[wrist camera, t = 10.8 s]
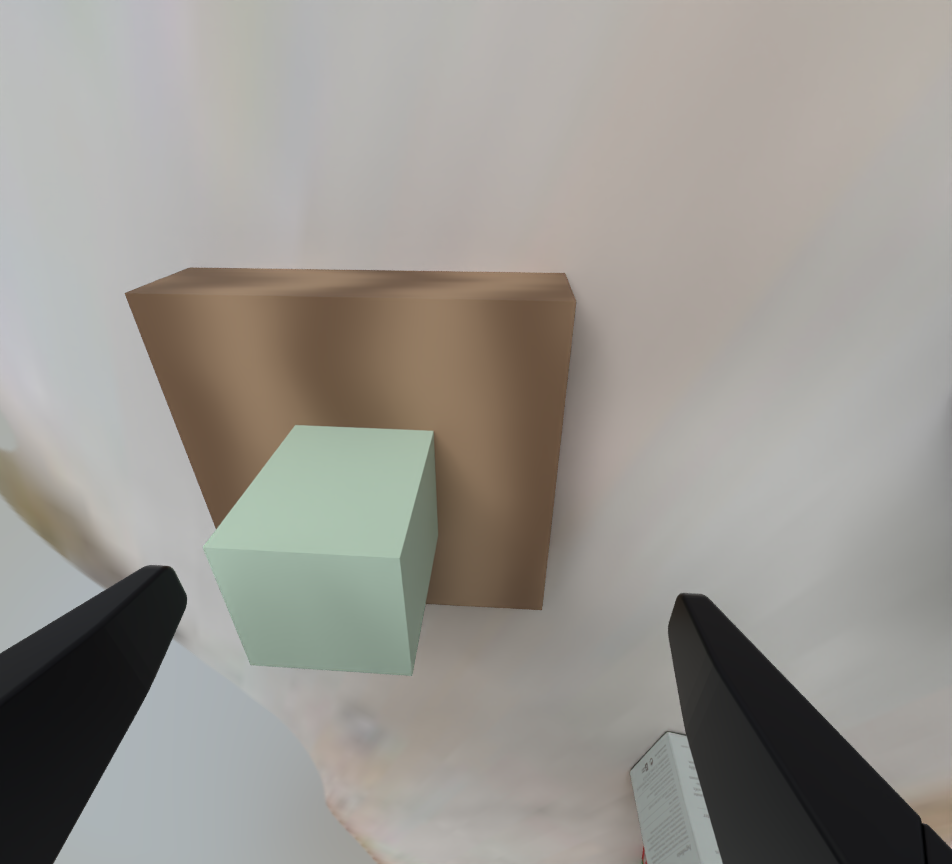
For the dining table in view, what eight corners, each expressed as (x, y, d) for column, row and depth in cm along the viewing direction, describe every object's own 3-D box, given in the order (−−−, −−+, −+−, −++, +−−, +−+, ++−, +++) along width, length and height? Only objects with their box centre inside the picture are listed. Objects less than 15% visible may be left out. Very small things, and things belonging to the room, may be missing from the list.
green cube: (433, 430, 17) (399, 557, 12) (438, 534, 19) (412, 675, 14) (295, 425, 17) (203, 547, 12) (318, 528, 20) (250, 664, 15)
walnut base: (563, 270, 17) (576, 301, 14) (537, 545, 25) (541, 609, 21) (196, 264, 18) (124, 293, 15) (277, 533, 26) (241, 593, 22)
